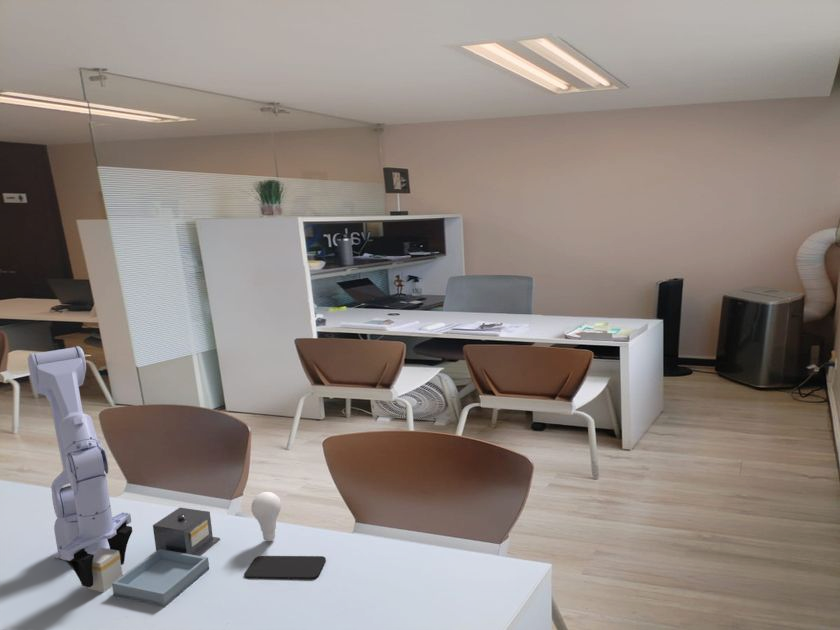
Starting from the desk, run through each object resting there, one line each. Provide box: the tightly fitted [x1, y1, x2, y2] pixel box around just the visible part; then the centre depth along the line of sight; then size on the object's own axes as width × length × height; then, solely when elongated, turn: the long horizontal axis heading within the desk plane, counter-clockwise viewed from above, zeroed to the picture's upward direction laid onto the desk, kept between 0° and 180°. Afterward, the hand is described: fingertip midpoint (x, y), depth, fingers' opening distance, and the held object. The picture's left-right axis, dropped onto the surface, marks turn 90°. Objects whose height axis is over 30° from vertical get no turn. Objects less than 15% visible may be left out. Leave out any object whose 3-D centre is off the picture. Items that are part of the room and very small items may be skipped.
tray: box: [111, 549, 210, 607], centre depth 119 cm, size 12×12×2 cm
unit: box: [150, 507, 221, 556], centre depth 130 cm, size 10×10×8 cm
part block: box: [86, 548, 124, 593], centre depth 119 cm, size 5×5×6 cm
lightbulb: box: [251, 491, 282, 542], centre depth 131 cm, size 6×6×11 cm
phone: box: [243, 555, 327, 581], centre depth 121 cm, size 7×1×15 cm
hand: (103, 574), depth 119 cm, fingers open, 7 cm apart
